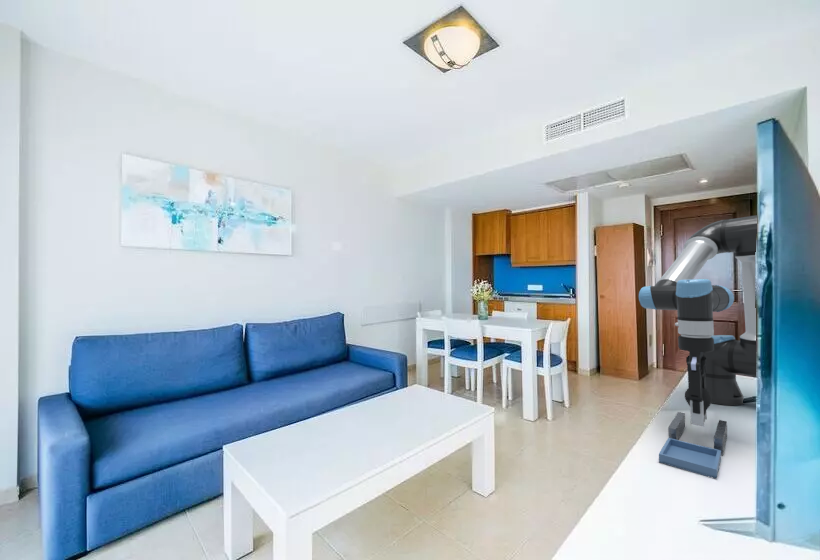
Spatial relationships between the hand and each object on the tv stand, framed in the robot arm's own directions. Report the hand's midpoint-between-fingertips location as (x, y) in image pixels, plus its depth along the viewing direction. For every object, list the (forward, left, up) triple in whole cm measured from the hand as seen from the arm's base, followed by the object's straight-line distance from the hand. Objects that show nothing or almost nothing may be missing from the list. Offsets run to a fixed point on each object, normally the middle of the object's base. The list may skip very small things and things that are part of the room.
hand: (698, 421), depth 94 cm
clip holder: (0, 0, -5) cm, 5 cm away
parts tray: (+5, +16, -5) cm, 17 cm away
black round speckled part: (0, 0, -1) cm, 1 cm away
